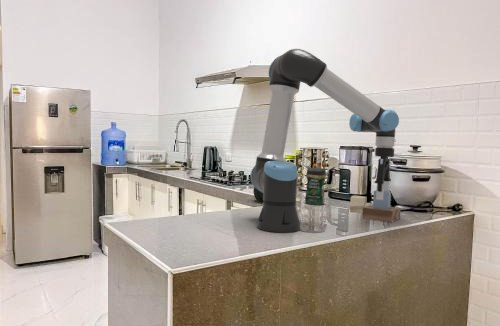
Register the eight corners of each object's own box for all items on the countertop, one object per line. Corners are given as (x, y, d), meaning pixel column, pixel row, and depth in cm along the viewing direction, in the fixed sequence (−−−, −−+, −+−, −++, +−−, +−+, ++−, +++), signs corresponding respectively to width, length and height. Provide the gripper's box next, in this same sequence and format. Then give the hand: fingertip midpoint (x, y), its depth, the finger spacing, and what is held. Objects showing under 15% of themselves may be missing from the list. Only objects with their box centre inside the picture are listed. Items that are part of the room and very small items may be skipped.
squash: (260, 194, 189) (277, 170, 194) (243, 191, 201) (259, 169, 206) (277, 212, 194) (293, 189, 200) (260, 208, 207) (275, 187, 212)
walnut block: (391, 223, 156) (391, 211, 155) (362, 219, 163) (362, 207, 163) (400, 219, 165) (400, 208, 165) (372, 215, 172) (372, 204, 172)
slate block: (388, 209, 160) (388, 192, 159) (373, 207, 162) (373, 191, 162) (390, 207, 165) (390, 191, 165) (375, 206, 168) (376, 189, 167)
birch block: (363, 213, 175) (364, 198, 175) (350, 212, 178) (350, 196, 178) (366, 211, 181) (366, 196, 180) (352, 210, 183) (353, 195, 183)
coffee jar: (303, 203, 198) (304, 167, 197) (308, 202, 205) (309, 167, 204) (321, 205, 193) (323, 168, 193) (326, 204, 200) (327, 168, 199)
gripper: (390, 147, 150) (387, 202, 151) (398, 147, 172) (395, 195, 173) (369, 146, 153) (367, 200, 154) (380, 147, 175) (378, 194, 176)
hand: (382, 197), depth 164 cm, fingers open, 13 cm apart
